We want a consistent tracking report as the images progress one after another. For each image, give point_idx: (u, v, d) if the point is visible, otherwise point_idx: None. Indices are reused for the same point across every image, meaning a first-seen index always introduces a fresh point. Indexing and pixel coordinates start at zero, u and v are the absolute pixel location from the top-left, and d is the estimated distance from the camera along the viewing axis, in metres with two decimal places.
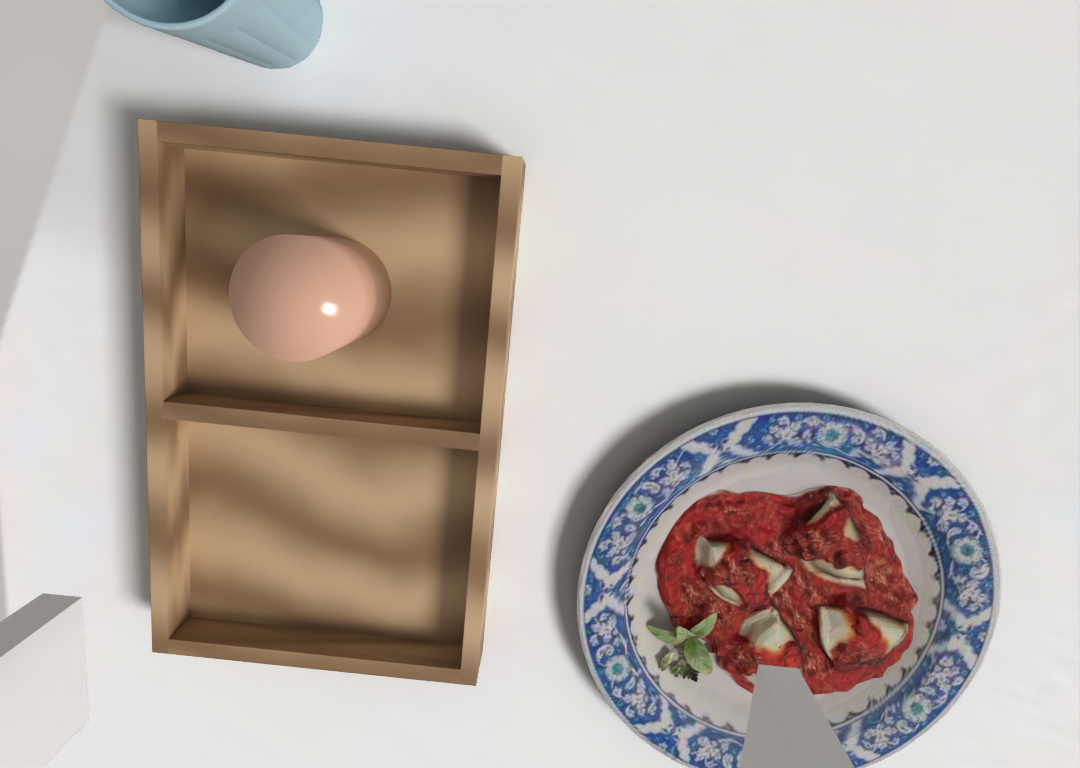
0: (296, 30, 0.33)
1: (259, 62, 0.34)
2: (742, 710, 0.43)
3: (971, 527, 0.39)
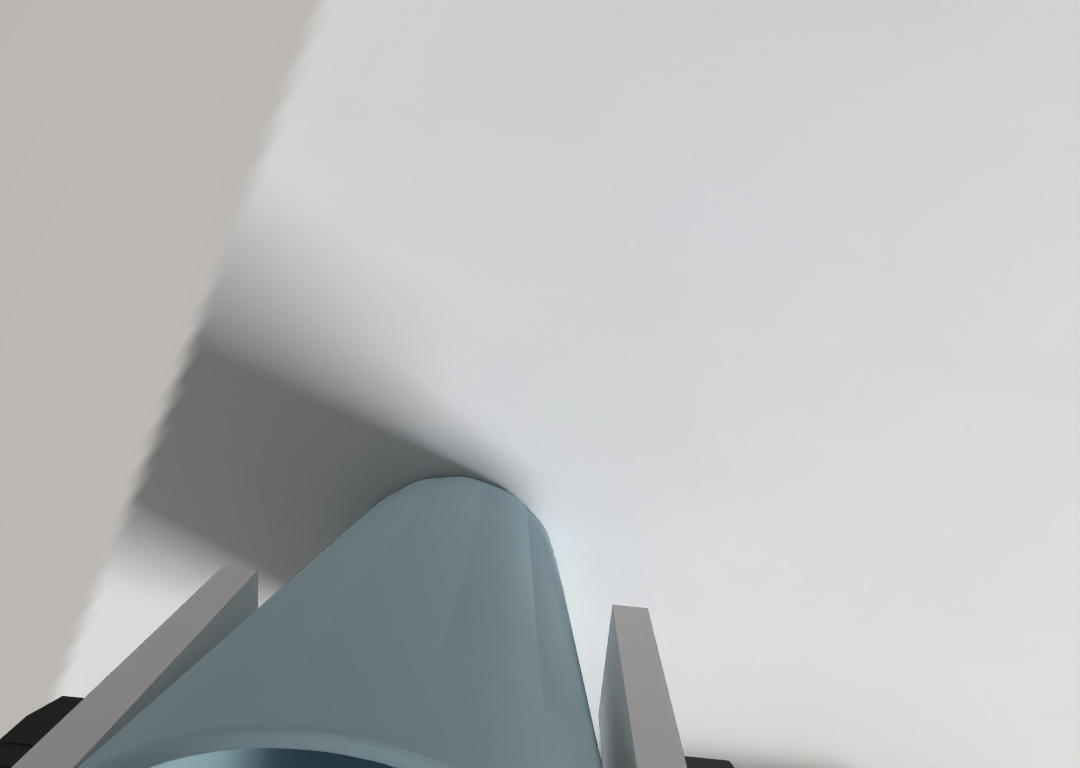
0: None
1: None
2: None
3: None
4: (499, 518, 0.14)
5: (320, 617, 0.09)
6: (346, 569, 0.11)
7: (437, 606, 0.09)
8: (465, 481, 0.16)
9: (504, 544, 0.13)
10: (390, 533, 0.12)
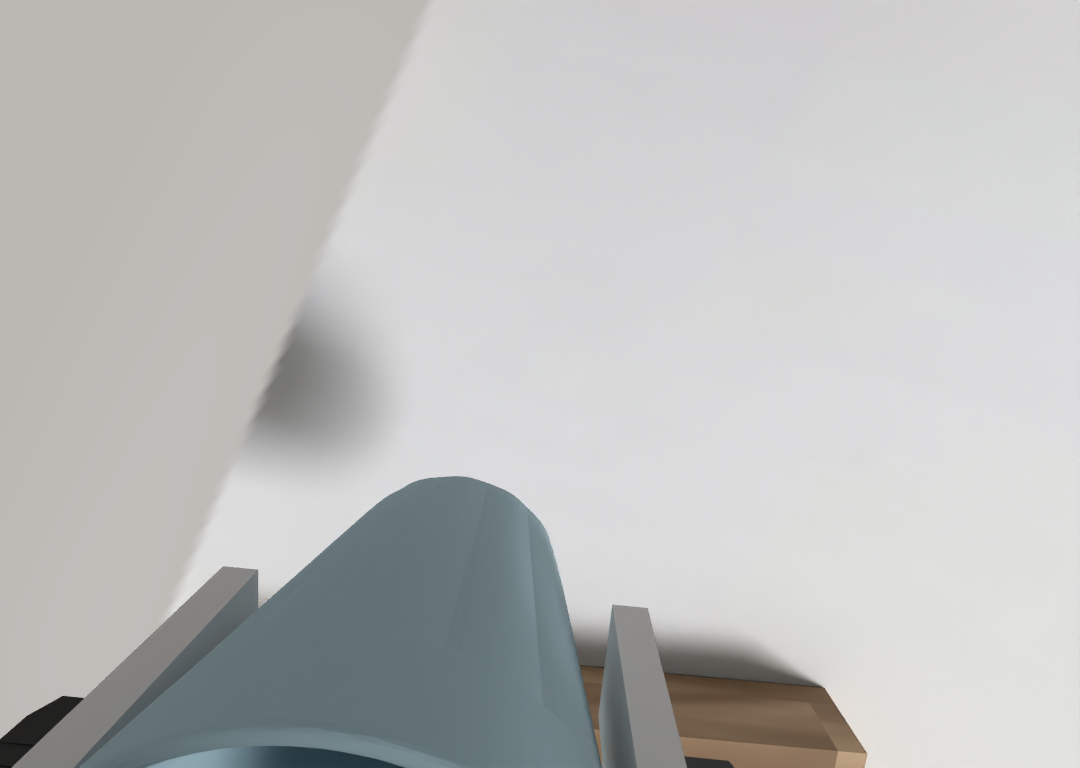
0: None
1: None
2: None
3: None
4: (499, 518, 0.14)
5: (321, 615, 0.09)
6: (347, 569, 0.11)
7: (438, 605, 0.09)
8: (465, 481, 0.16)
9: (504, 543, 0.13)
10: (391, 533, 0.12)
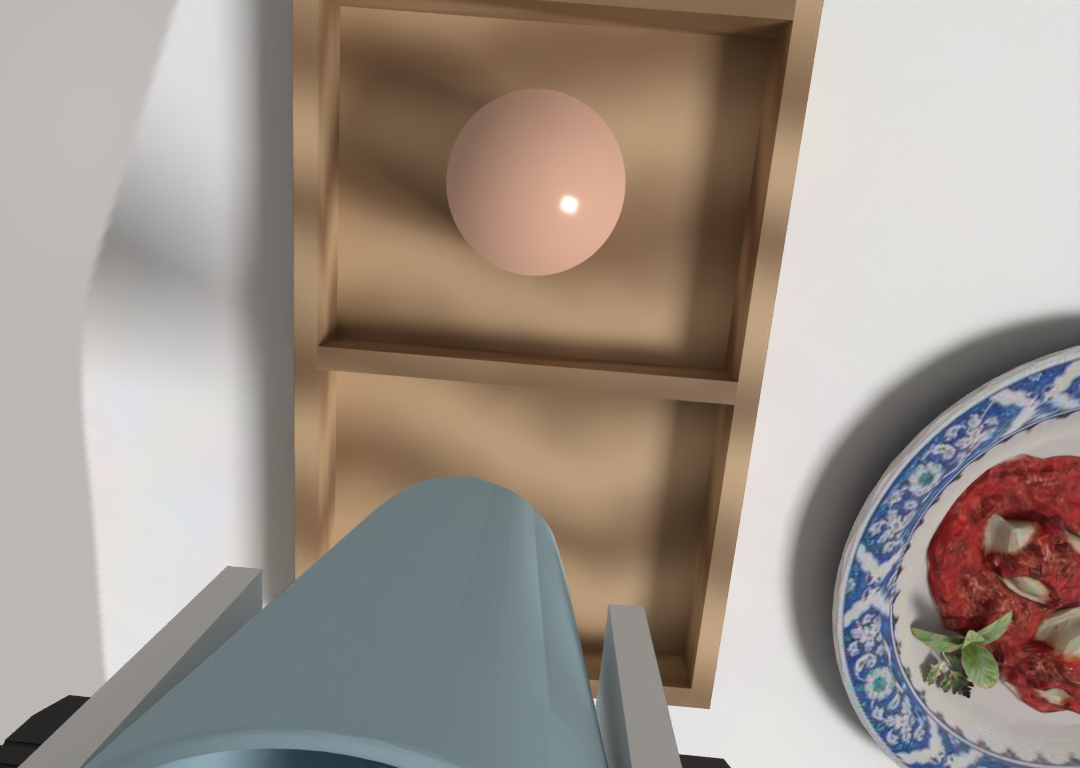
0: None
1: None
2: (1024, 732, 0.34)
3: None
4: (505, 518, 0.14)
5: (326, 616, 0.09)
6: (353, 569, 0.10)
7: (443, 607, 0.09)
8: (471, 481, 0.16)
9: (510, 544, 0.13)
10: (396, 533, 0.12)
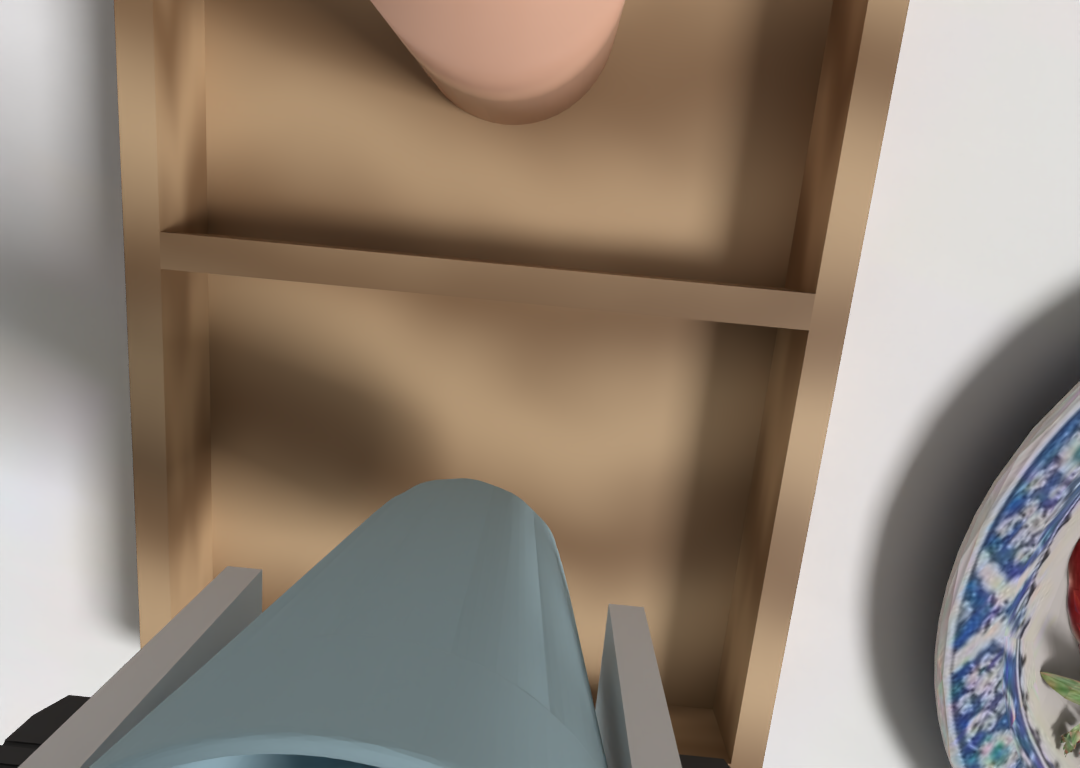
0: None
1: None
2: None
3: None
4: (506, 521, 0.14)
5: (326, 620, 0.09)
6: (352, 572, 0.10)
7: (443, 610, 0.09)
8: (471, 483, 0.16)
9: (510, 547, 0.13)
10: (397, 536, 0.12)
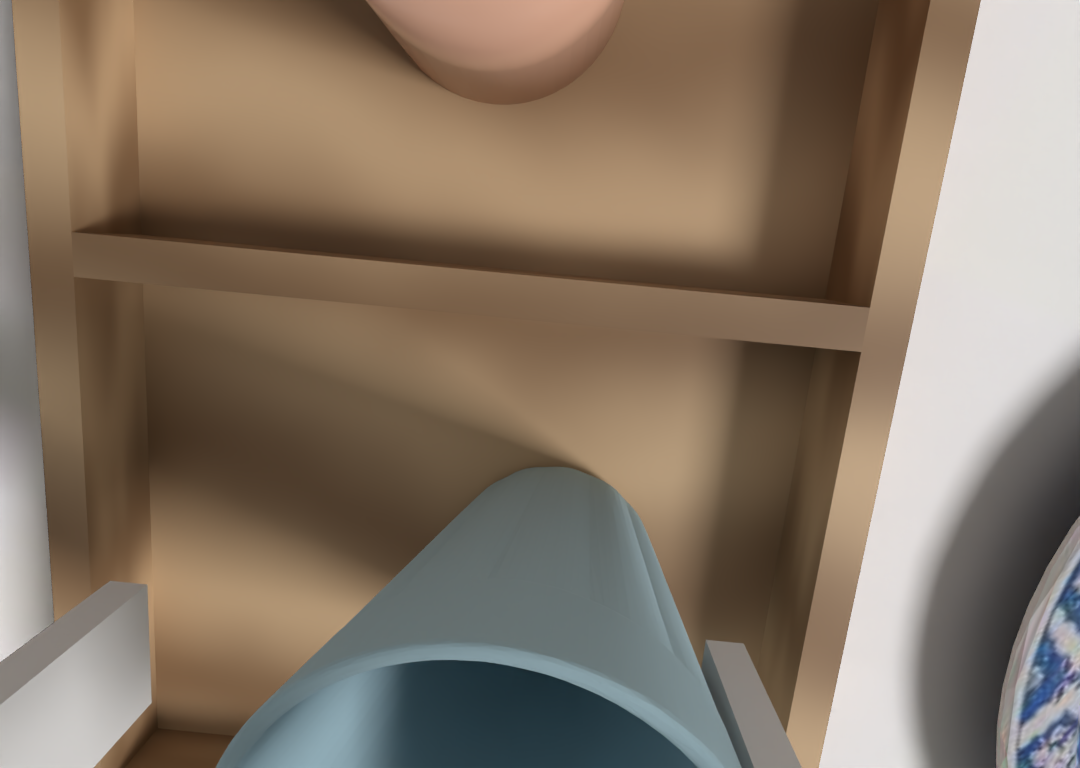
0: None
1: None
2: None
3: None
4: (607, 504, 0.15)
5: (478, 568, 0.10)
6: (487, 535, 0.12)
7: (576, 568, 0.11)
8: (569, 471, 0.17)
9: (616, 525, 0.14)
10: (516, 509, 0.13)
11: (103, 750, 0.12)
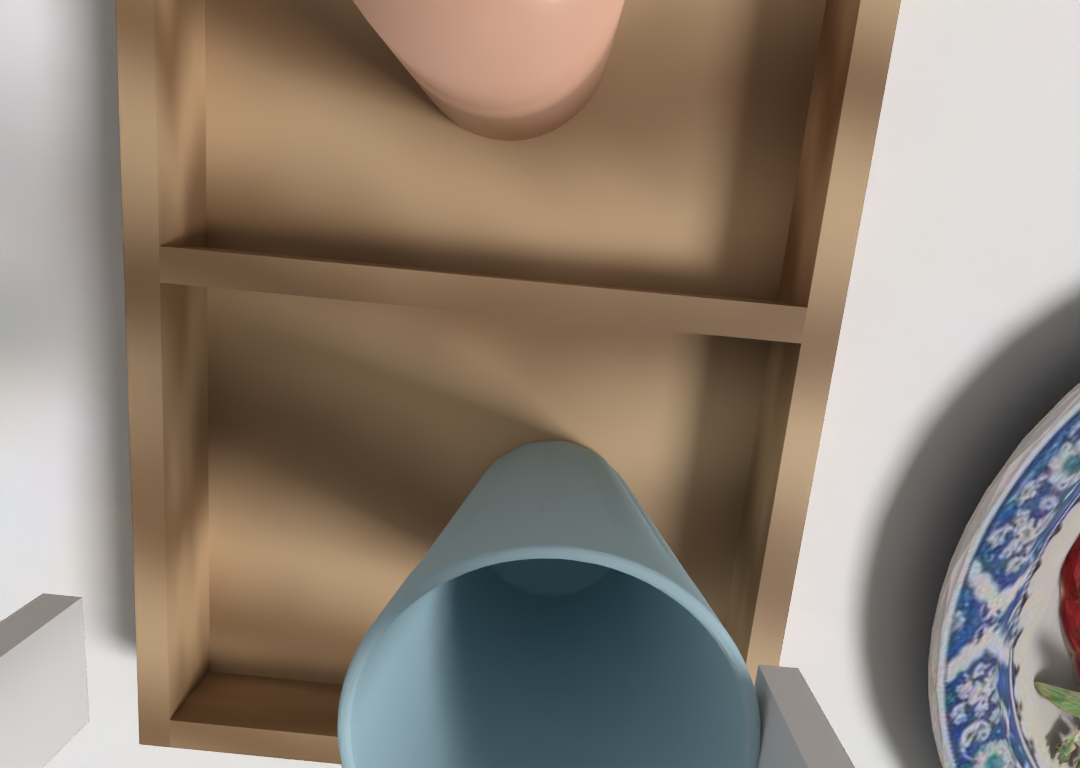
0: None
1: None
2: None
3: None
4: (602, 467, 0.19)
5: (528, 507, 0.14)
6: (523, 487, 0.15)
7: (597, 506, 0.14)
8: (566, 443, 0.21)
9: (614, 482, 0.18)
10: (536, 471, 0.17)
11: None
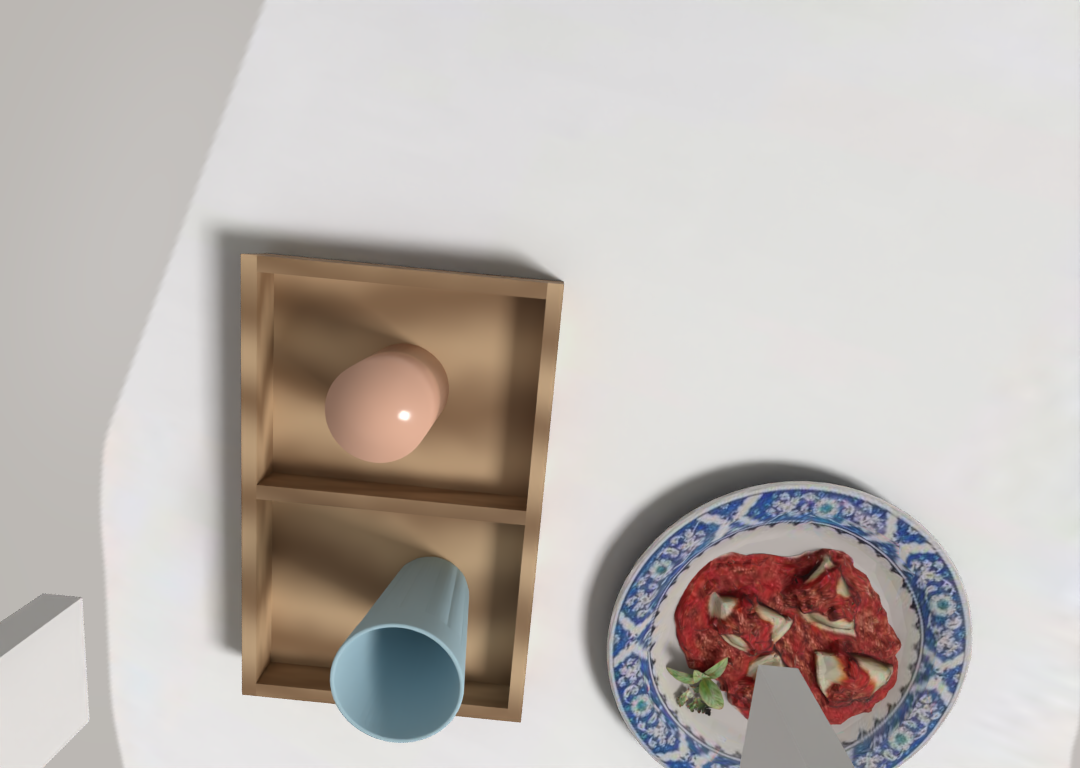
0: None
1: None
2: None
3: (946, 585, 0.45)
4: (445, 574, 0.44)
5: (396, 604, 0.39)
6: (400, 592, 0.40)
7: (423, 602, 0.39)
8: (435, 559, 0.46)
9: (444, 584, 0.43)
10: (411, 581, 0.42)
11: None
